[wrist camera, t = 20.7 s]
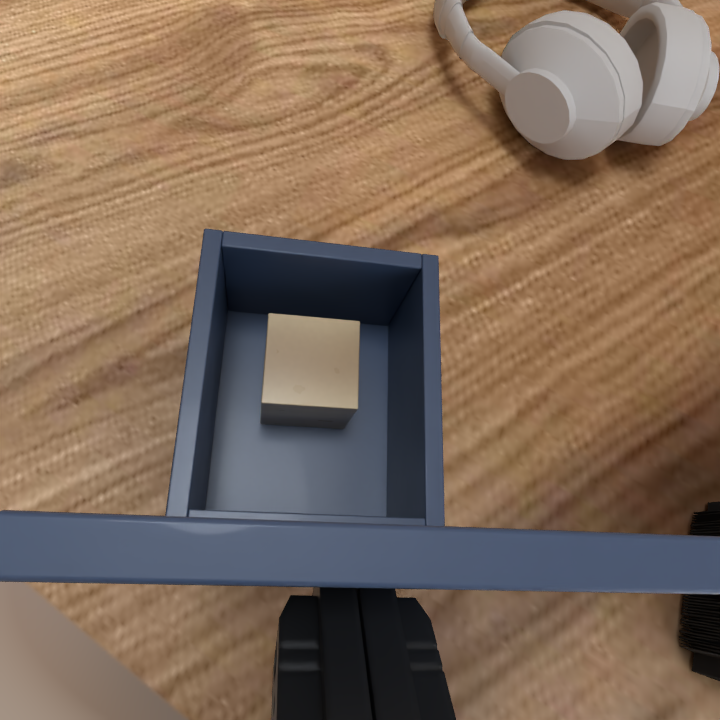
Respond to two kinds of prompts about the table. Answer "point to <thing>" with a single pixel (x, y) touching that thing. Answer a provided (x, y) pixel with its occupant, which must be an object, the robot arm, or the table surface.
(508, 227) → the table surface
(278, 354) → the block
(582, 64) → the headphones
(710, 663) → the cpu cooler
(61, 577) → the lid
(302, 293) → the chest
